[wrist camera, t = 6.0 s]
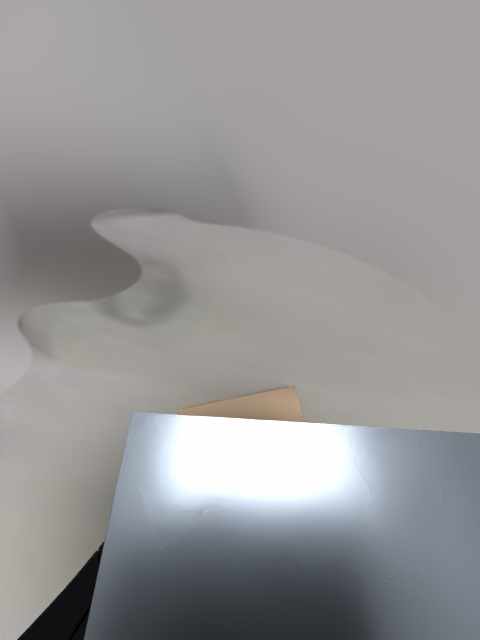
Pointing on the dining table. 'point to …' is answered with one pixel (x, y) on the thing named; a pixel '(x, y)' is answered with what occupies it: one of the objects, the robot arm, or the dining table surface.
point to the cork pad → (254, 407)
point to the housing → (290, 533)
